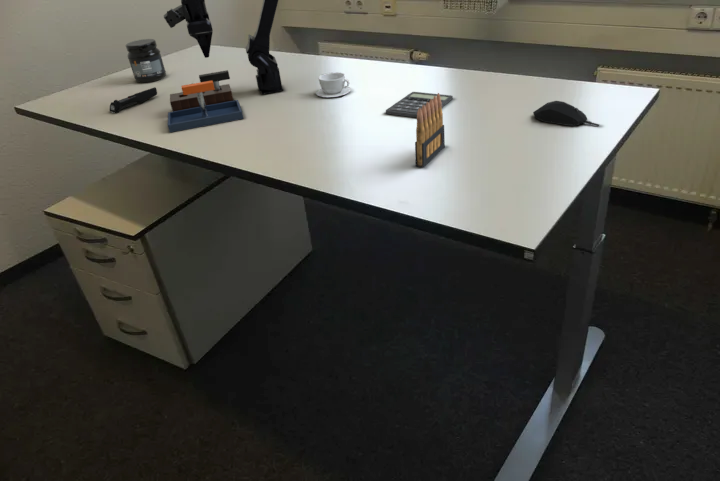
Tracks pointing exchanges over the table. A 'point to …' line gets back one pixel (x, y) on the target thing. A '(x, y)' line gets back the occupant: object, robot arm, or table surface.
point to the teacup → (333, 85)
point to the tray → (195, 119)
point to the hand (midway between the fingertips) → (206, 53)
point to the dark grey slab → (215, 78)
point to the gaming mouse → (561, 114)
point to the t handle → (199, 93)
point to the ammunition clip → (429, 132)
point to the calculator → (415, 103)
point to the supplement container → (145, 60)
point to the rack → (191, 100)
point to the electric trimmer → (132, 100)
